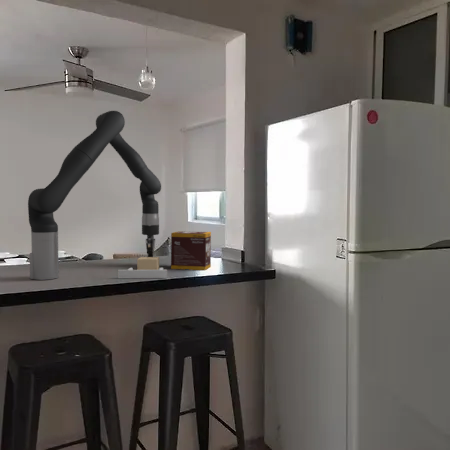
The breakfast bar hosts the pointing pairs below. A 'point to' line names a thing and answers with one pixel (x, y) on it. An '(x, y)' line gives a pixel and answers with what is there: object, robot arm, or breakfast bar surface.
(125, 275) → the display stand
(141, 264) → the carton
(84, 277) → the breakfast bar surface
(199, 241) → the supplement box
